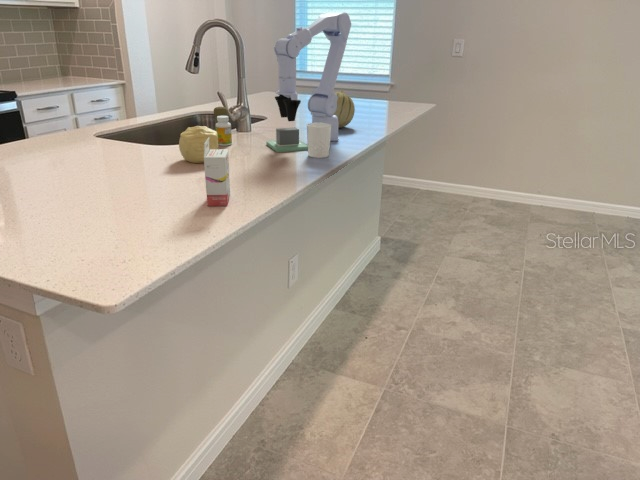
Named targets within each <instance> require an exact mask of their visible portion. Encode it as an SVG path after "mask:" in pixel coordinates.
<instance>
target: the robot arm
mask: <svg viewBox="0 0 640 480" xmlns="http://www.w3.org/2000/svg"><path fill="white" fill-rule="evenodd" d="M351 27H352V22H351V19H350V16H349V13H347V12H346V11H345V12H325V11H324V12H323V13H322V14H319V15H318V18H317V19H315V20H314V21H313V22H312V23H310V24H309V25H308V26H307V27H305V26H304V27H303V26H298V27H296V28H295V29H296V30H295V31H293V32H292V33H288V34H287V35H286V37H285V38H279V39H278V40H277V41H276V42H275V46H274V47H273V51H274V55H276V61H277V63H278V88H277V91H275V94H276V95H275V96H274V99H275V100H276V103H277V105H278V111H279V114H280V115H279V116H280V118H282V119H283V118H287V121H288V122H295V121H296V120H295V119H296V116H297V111H298V109H299V106H300V104H301V102H302V101H301V100H300V99H298V93H297V69H296V68H297V60H296V59H297V58H298V56H299V54H300V52H301V50H302V49H304V48H305V47H306V46H308V45H310V44H311V43H312V40H313V39H312V38H313V37H315V36H316V35H318V34H320V33H322V32H323V34H324V35H325V38H326V39H327V40H328V41H329V43H330V46H329V49H328V52H327V57H326V61H325V63H324V67H323V71H322V73H321V79H320V80H319V81H320V82H319V86H318V87H316V88H314V90H312V93H311V95H310V97H309V98H308V101H307V110H308V112H309V113H310V115H311V123H327V124H330V125H331V137H330V142H332V141H333V142H335V141H336V142H337V141H339V140H340V139H339V128H338V125H339V123H338V118H337V116H336V115H333V114H334V113H335V111H336V109H337V99H338V97H337V95H336V94H335V92H336V91H335V87H336V82H337V79H338V76H339V73H340V68H341V65H342V62H343V57H344V53H345V50H346V47H347V42H348V39H349V36H350V31H351ZM277 95H278V96H277Z"/></svg>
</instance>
